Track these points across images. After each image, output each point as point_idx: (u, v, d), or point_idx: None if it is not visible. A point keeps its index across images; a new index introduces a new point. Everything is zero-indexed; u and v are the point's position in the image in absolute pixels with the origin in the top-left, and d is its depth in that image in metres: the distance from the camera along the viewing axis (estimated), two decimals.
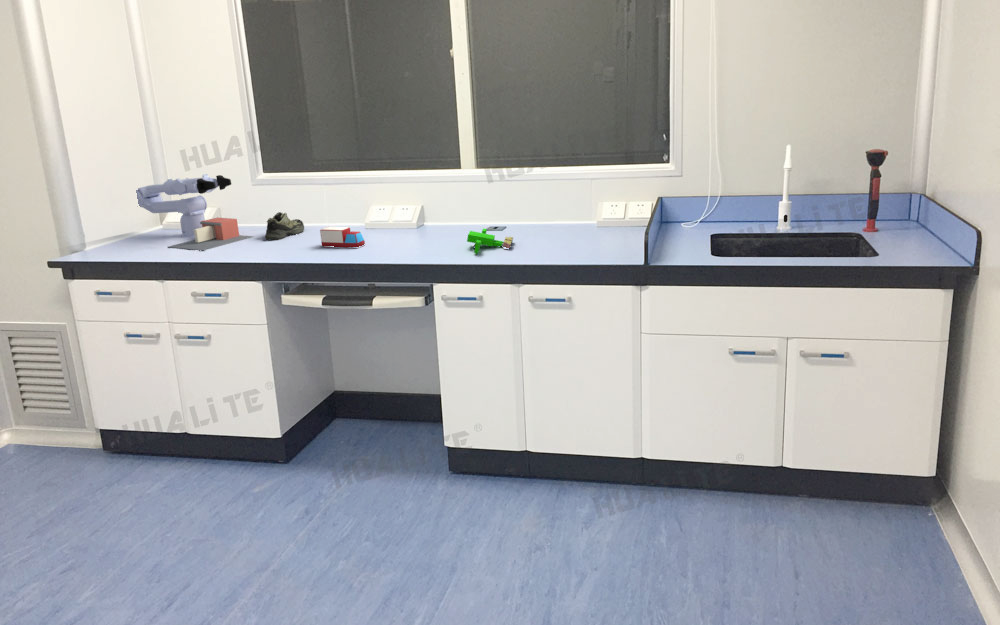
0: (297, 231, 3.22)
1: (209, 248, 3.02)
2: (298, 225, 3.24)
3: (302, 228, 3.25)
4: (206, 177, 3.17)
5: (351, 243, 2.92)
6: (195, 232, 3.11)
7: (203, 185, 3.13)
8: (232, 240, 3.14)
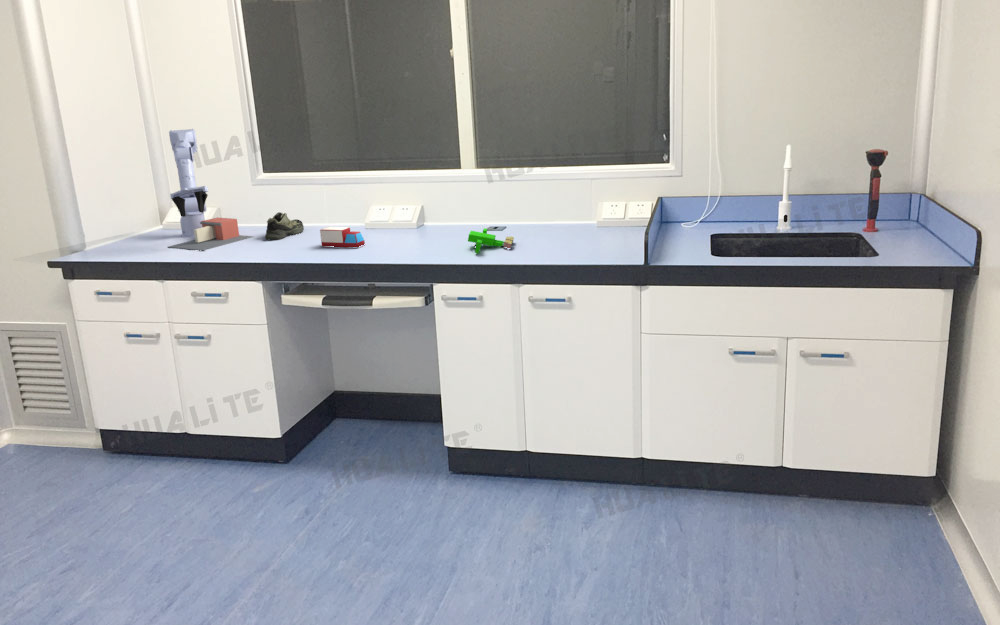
0: (297, 231, 3.22)
1: (209, 248, 3.02)
2: (298, 225, 3.24)
3: (302, 228, 3.25)
4: (185, 190, 3.05)
5: (351, 243, 2.92)
6: (195, 232, 3.11)
7: None
8: (232, 240, 3.14)
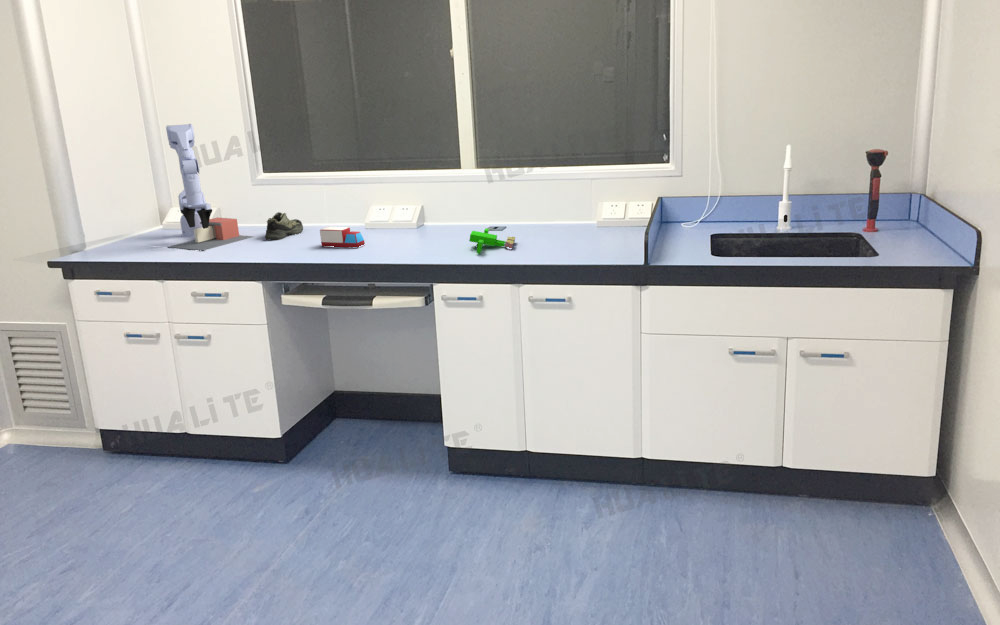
0: (296, 231, 3.22)
1: (209, 248, 3.02)
2: (297, 225, 3.24)
3: (301, 228, 3.26)
4: (189, 206, 3.07)
5: (351, 243, 2.92)
6: (195, 232, 3.11)
7: None
8: (232, 240, 3.14)
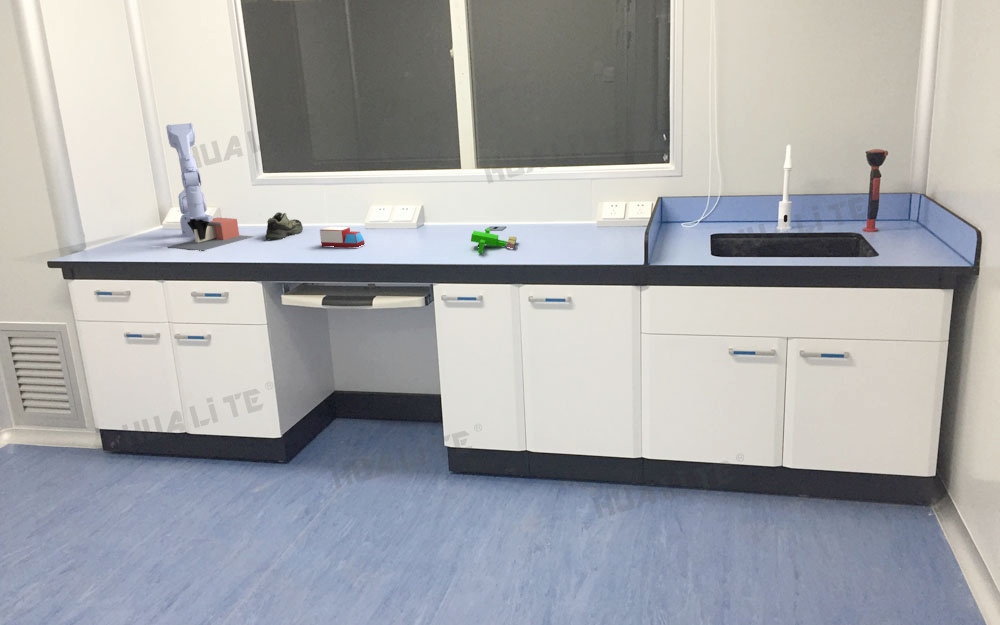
0: (296, 231, 3.22)
1: (209, 248, 3.02)
2: (297, 225, 3.24)
3: (301, 228, 3.26)
4: (191, 218, 3.09)
5: (351, 243, 2.92)
6: (195, 232, 3.11)
7: None
8: (232, 240, 3.14)
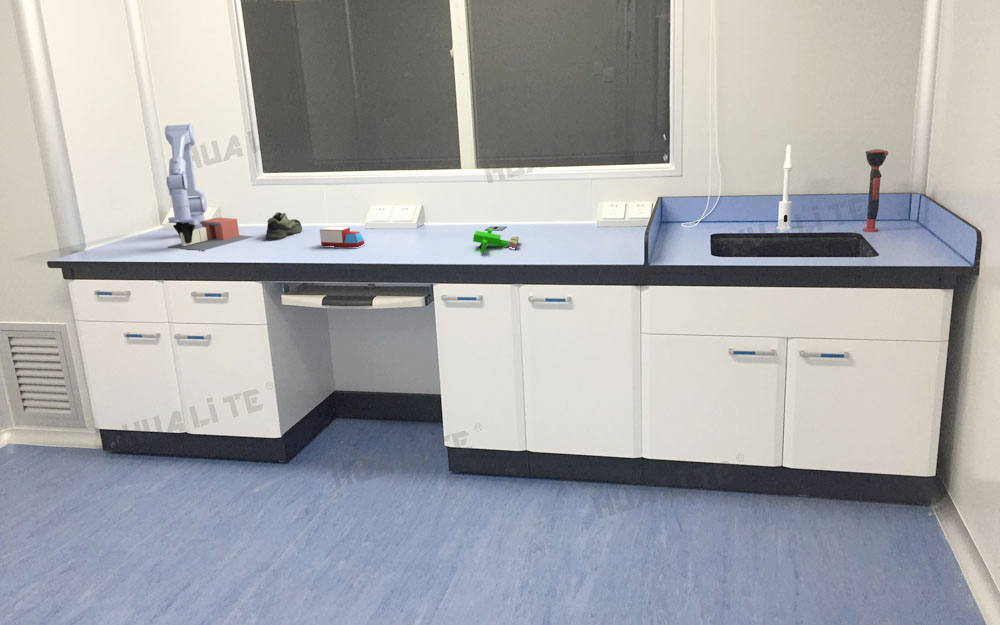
0: (296, 231, 3.22)
1: (209, 248, 3.02)
2: (297, 225, 3.24)
3: (300, 228, 3.26)
4: (177, 221, 3.03)
5: (351, 243, 2.92)
6: (181, 235, 3.06)
7: None
8: (232, 240, 3.14)
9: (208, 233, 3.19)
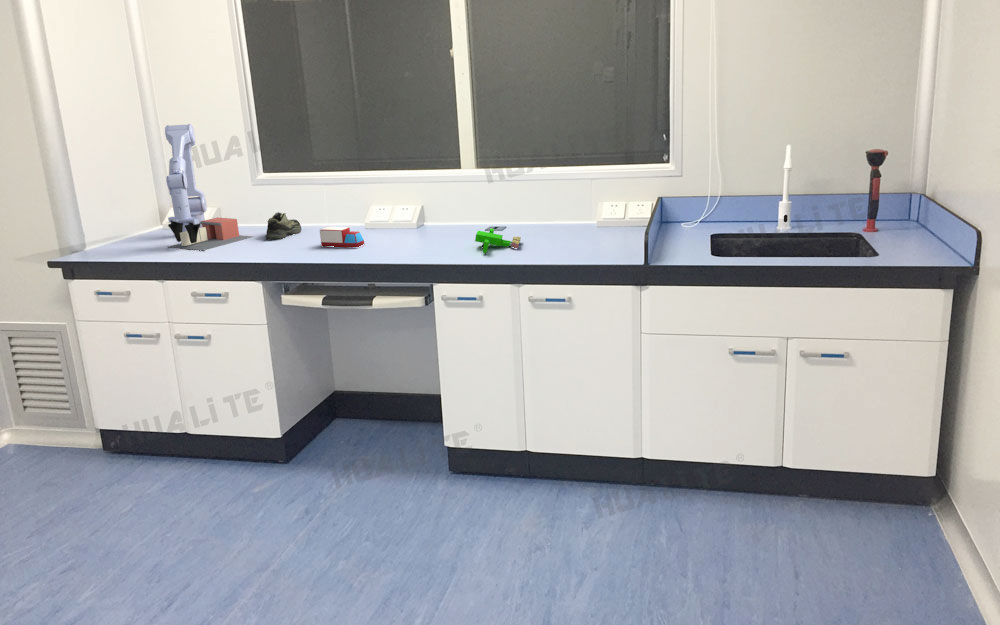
0: (296, 231, 3.22)
1: (209, 248, 3.02)
2: (296, 225, 3.24)
3: (300, 228, 3.26)
4: None
5: (351, 243, 2.92)
6: (181, 235, 3.06)
7: None
8: (232, 240, 3.14)
9: (208, 233, 3.19)
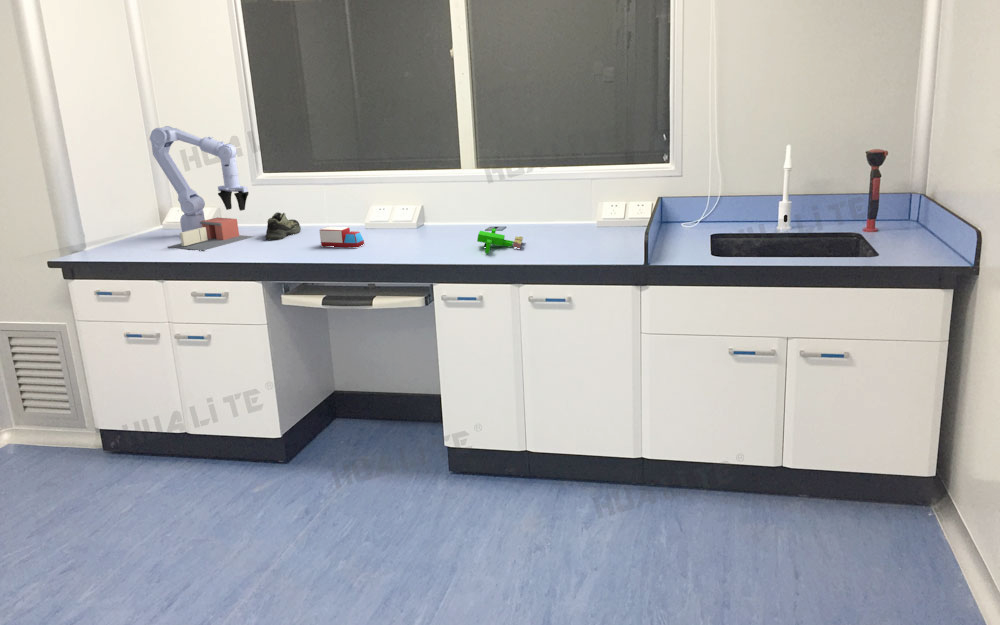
0: (295, 231, 3.22)
1: (209, 248, 3.02)
2: (295, 225, 3.25)
3: (299, 228, 3.26)
4: (227, 189, 3.21)
5: (351, 243, 2.92)
6: (181, 235, 3.06)
7: None
8: (232, 240, 3.14)
9: (208, 233, 3.19)
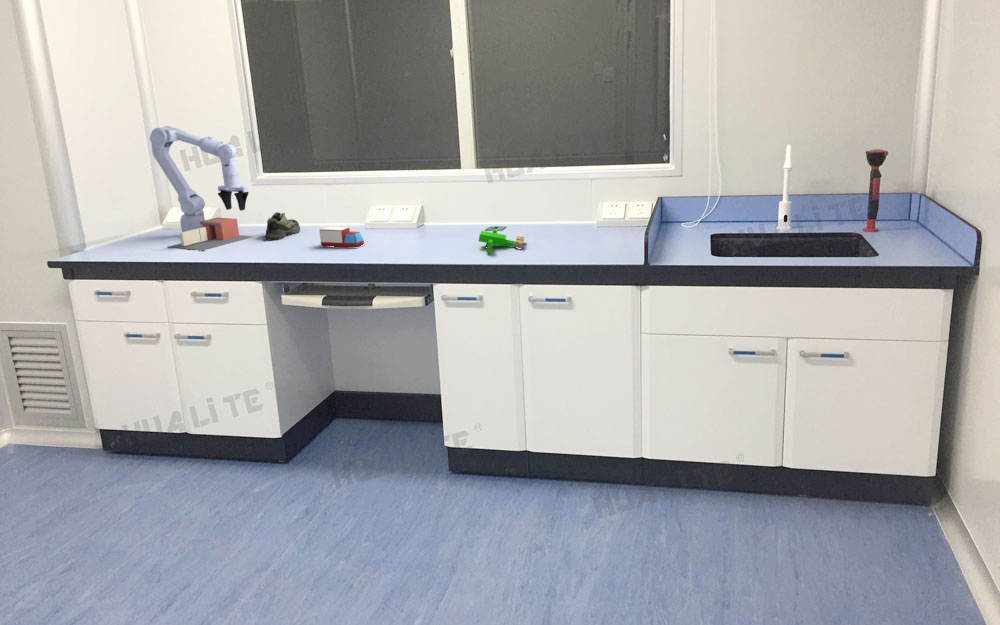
0: (295, 231, 3.22)
1: (209, 248, 3.02)
2: (295, 225, 3.25)
3: (299, 228, 3.26)
4: (227, 189, 3.21)
5: (351, 243, 2.92)
6: (181, 235, 3.06)
7: None
8: (232, 240, 3.14)
9: (208, 233, 3.19)
